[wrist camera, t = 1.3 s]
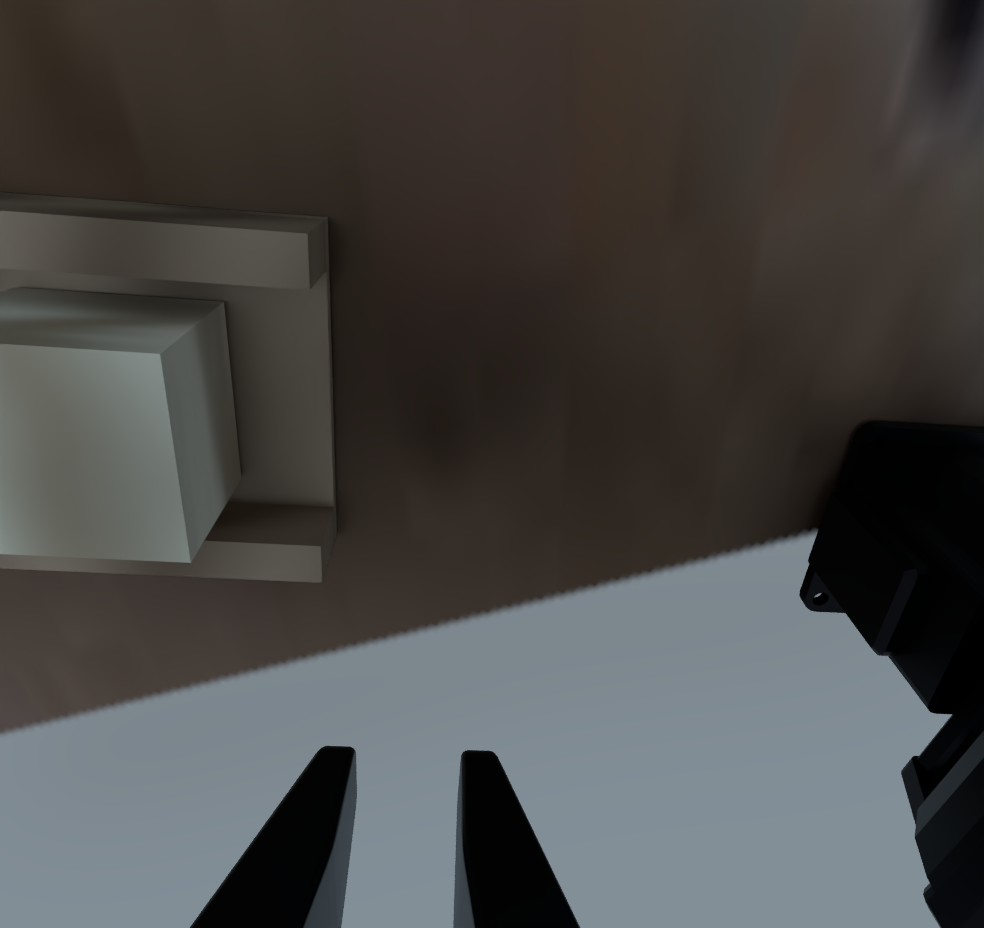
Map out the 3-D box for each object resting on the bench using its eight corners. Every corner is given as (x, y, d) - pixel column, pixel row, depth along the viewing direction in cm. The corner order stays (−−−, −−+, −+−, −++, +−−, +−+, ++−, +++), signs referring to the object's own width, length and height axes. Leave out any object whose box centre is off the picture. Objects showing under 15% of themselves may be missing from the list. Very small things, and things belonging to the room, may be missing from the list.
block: (223, 301, 17) (159, 354, 14) (241, 478, 20) (191, 563, 16) (13, 287, 17) (-108, 336, 13) (56, 468, 19) (-37, 552, 16)
